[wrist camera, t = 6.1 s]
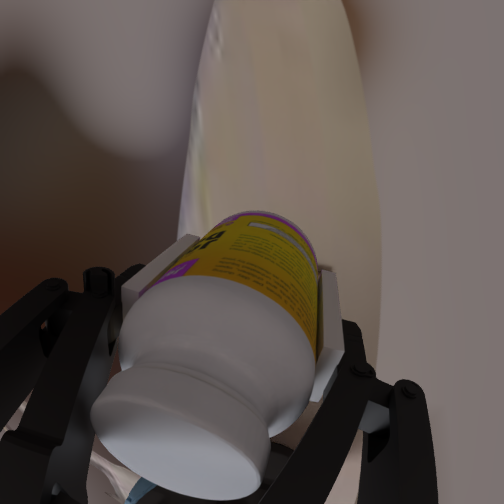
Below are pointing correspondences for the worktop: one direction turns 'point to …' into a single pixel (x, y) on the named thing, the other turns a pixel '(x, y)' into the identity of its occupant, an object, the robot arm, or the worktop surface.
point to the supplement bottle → (216, 360)
